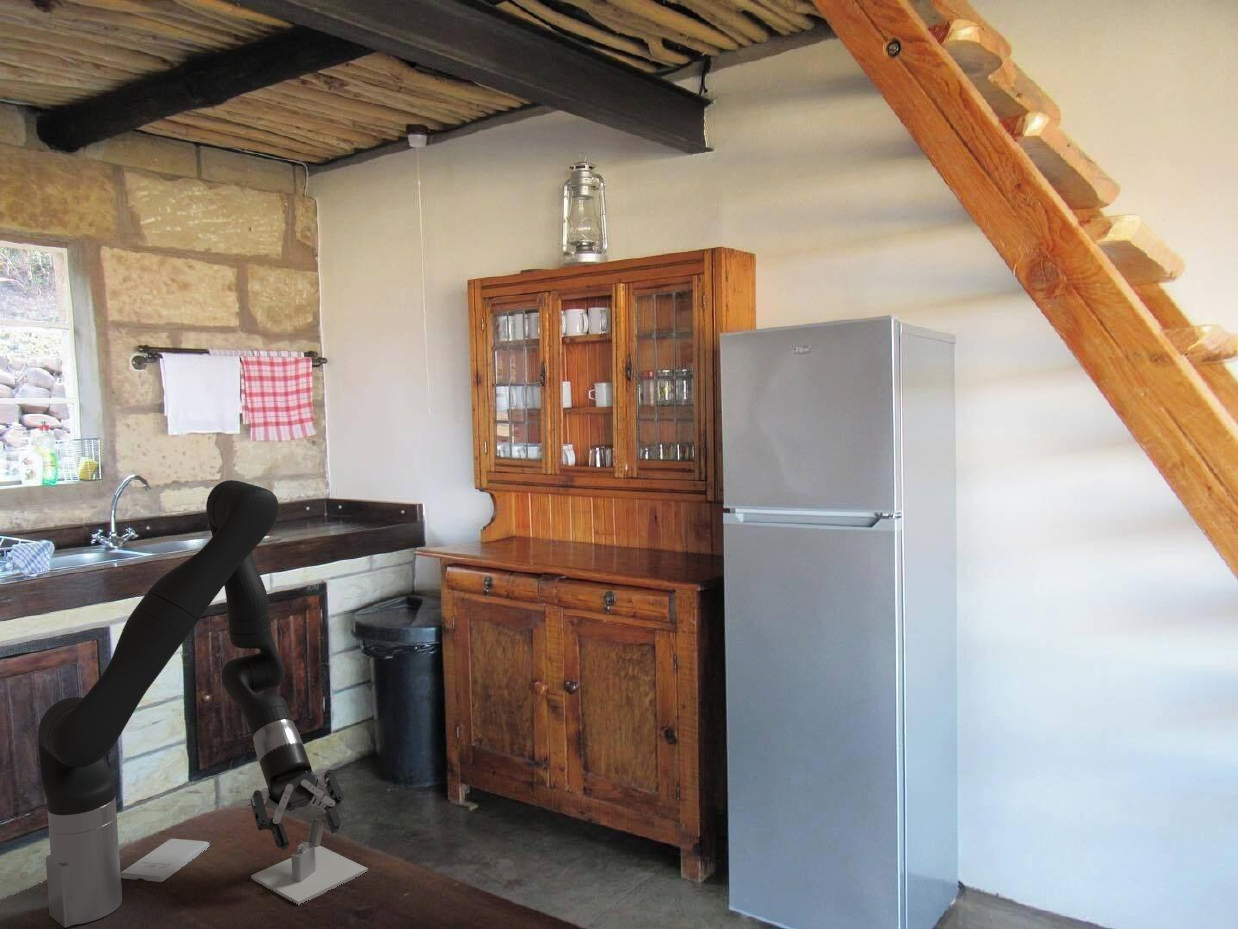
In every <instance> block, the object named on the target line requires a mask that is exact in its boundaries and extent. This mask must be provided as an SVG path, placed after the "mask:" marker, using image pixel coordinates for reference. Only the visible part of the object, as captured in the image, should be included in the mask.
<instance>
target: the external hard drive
mask: <svg viewBox="0 0 1238 929" xmlns="http://www.w3.org/2000/svg"><path fill="white" fill-rule="evenodd" d="M209 846H210V841H209V842H208V841H204V840H194V839H181V838H169V839H167V840H166V841H165V842H164V843H162V844H161V845H159V846H158V847H156V848H154V850H152V851H151V852H149V853H148V854H146V855H145V856H143V857H142V858H140V859H138V860H137V861H135V862H134V863H133V864H131V865H130V866H128V867H127V868H126V869H124V870H122V871H120V875H121V879H125V880H126V879H127V880H143V881H146V882H147V881H149V882H157V883H158V882H159V883H162V882H164V881H165V880H167V879H169V878H170V877H171V876H173V874H175V873H176V872H178V871H179V870H181V869H182V868H183V867H185V865H187V864H189V863H190V862H191V861H193V860H194V859H195V858H197V857H198V856H200V855H201V854H202V853H203V851H204V850H205V851H206V850H208V849H209V848H210V847H209ZM208 847H209V848H208ZM207 848H208V849H207ZM205 851H204V852H205ZM201 852H202V853H201ZM200 853H201V854H200ZM199 854H200V855H199ZM192 859H193V860H192ZM188 862H189V863H188ZM181 867H182V868H181Z"/></svg>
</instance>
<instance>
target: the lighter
mask: <svg viewBox="0 0 1238 929" xmlns="http://www.w3.org/2000/svg"><path fill="white" fill-rule="evenodd" d="M325 822H326V820H325V818H324V819H323V818H316V817H312V818H311V822H310V827H309V830H308V835H307V840H306V841H302V842H301V843H300V844H299V845H297V846H296V849H297V850H296V851H295V852H294V853H292V854H291V855H290V856H291V857H290V858H291V860H292V880H293V881H295V882H302V881H303V880H304V879H306V878H307V877H308V876H310V875H311V874H312V873H314V872H315V871H316V862H315V847H316V846H321V842H322V837H323V832H324V827H325V824H326V823H325Z"/></svg>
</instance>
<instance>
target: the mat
mask: <svg viewBox="0 0 1238 929" xmlns="http://www.w3.org/2000/svg"><path fill="white" fill-rule="evenodd" d="M315 862H316V871H315V872H314V873H312V874H311V875H310V876H308V877H307V878H306V879H304V880H303V881H302V882H295V881H293V880H292V860H291V857H290V858H288V859H285V860H283V861H281V862H279V863H276V864H274V865H271V866H270V867H267V868H265V869H262V870H260V871H258V872H256V873H253V874H252V875H251V876H250V877H251V880H252V879H253V880H252V881H255V882H256V883H257V884H260V885H261V884H262V885H261V886H264V887H265V888H267V889H268V890H270V889H271V890H270V891H272V890H273V891H272V892H274V893H276V894H277V895H279V896H281V897H283V898H285V899H287V901H288V900H289V902H292V901H293V902H294V903H293V902H292V903H293V904H295V903H296V905H297V904H298V905H297V906H301V905H302V904H301V903H303V904H305V903H306V902H305V901H307V902H309V901H310V900H313V899H315V898H318V897H319V896H321V895H323V894H326V893H327V891H328V890H330V891H331V889H332V890H334V889H335V888H338V887H340V886H341V884H342V885H344V884H346V883H348V882H350V881H353V880H354V879H356V878H355V877H357V878H359V877H361V876H362V874H363V873H365V872H367V871H368V872H369V867H366V866H363V865H362V864H360V863H357V862H355V861H353V860H352V859H349V858H347V857H345V856H342V855H341V854H339V853H337V852H334V851H332V850H331V849H328V848H327V847H324V846H321V845H316V846H315ZM368 872H367V873H368ZM365 874H366V873H365ZM360 875H361V876H360ZM363 875H364V874H363ZM358 876H359V877H358ZM343 883H344V884H343ZM339 885H340V886H339ZM337 886H338V887H337ZM328 892H329V891H328ZM308 900H309V901H308ZM304 902H305V903H304ZM300 904H301V905H300Z"/></svg>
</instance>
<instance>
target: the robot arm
mask: <svg viewBox="0 0 1238 929" xmlns="http://www.w3.org/2000/svg"><path fill="white" fill-rule="evenodd" d="M205 507H206V508H205V509H206V510H205V511H206V516H207V521H208V525H209V529H210V532H211V536H212V537H211V538H210V539H209V540H208V542H207V543H206V544H205V545H204V546H203V547H202V548H201V549H200V550H199V551H197V552H196V554H194V555H193V556H191V557H189V558H188V559H187V560H185V561H183V562H182V563H180V564H179V565H177V566H176V567H174V568H173V569H171V570H170V571H169V572H167V573H165V574H164V575H163V576H162V577H160V578H159V579H158V580H157V581H155V582H154V584H153V585H152V586H151V587H150V589H149V590H148V591H147V592H146V593H145V594H144V596H143V598H141V599H140V600H139V603H138V604H137V605H136V607H135V608H134V609H133V611H132V612H131V613H130V615H129V617H128V618H127V620H126V622H125V624H124V626H123V628H122V632H121V633H120V635H119V638H118V640H117V644H116V646H115V649H114V651H113V653H112V656H111V659H110V661H109V662H108V665H107V667H106V668H105V670H104V671H103V673H102V674H101V675H100V677H99V679H98V680H97V681H95V682H96V683H94V685H93V686H92V687H91V688H90V690H89V691H88V692H87V694H85V696H84V697H81V696H80V697H79V696H72V697H66V698H63V699H61V700H59V701H57V702H55V703H54V704H52V706H50V707H49V708H48V709H47V711H46V712H45V713H44V714H43V716H42V718H41V720H40V723H39V725H38V732H37V746H38V756H39V765H40V766H39V768H40V775H41V784H42V785H41V786H42V789H43V792H44V795H45V799H46V806H47V807H46V808H47V819H48V820H47V821H48V834H49V835H48V836H49V838H48V839H49V850H50V854H49V855H47V856H46V857H45V867H46V883H47V895H48V896H47V899H48V911H49V917H51V918H52V919H53V920H54V921H56V922H57V923H58V924H59V925H60V926H62V927H63V928H69V927H71V926H75V925H82V924H86V923H90V922H94V921H97V920H99V919H102V918H104V917H106V916H108V915H110V914H112V913H113V912H116V911H117V910H118V908H120V907H121V905H122V902H123V893H122V892H123V890H122V889H123V888H122V878H121V875H120V873H121V864H120V862H121V860H120V848H119V847H120V846H119V845H120V844H119V831H118V830H119V829H118V817H117V816H118V815H117V799H116V798H117V797H116V783H115V779H114V776H113V774H112V772H111V769H110V766H109V764H108V758H107V754H108V753H109V752H110V751H111V750H112V749H113V747H114V746H115V744H117V741H118V740H119V739H120V737H121V735H122V733H123V732H124V729H125V728H126V726H127V724H128V723H129V721H130V719H131V718H132V715H133V714H134V713H135V711H136V709H137V707H138V705H139V704H140V702H141V701H142V699H143V698H144V696H145V694H146V693H147V691H149V690H148V689H149V688H150V687H151V686H152V684H153V683H154V682H155V680H156V679H157V678H158V676H159V675H160V674H161V673H162V671H163V670H164V668H165V667H166V666H167V664H168V663H169V662H170V660H171V659H172V657H173V656H174V655H175V653H176V652H177V651H178V649H179V648H180V647H181V646H182V644H183V643H184V641H185V640H187V638H188V636H189V635H190V634H191V632H192V630H194V628H195V627H196V625H197V624H198V623H199V621H200V619H201V618H202V616H203V615H204V613H205V612H206V611H207V609H208V607H210V606H211V603H212V602H213V601H214V600H215V599H216V597H217V595H218V594H219V593H220V591H221V590H222V589H223V587H224V592H225V598H226V599H225V600H226V607H227V608H226V610H227V620H228V621H227V622H228V631H229V632H228V633H229V634H228V635H229V640H230V643H231V645H233V647H236V648H238V649H246V650H247V649H251V650H252V649H253V650H254V649H257V650H259V652H258V653H254V654H249V655H246V656H241V657H236V658H233V659H230V660H229V661H227V662H226V663H225V664H224V666H223V667H222V671H221V681H222V685H223V688H224V689H225V691H226V692H227V695H229V697H230V698H231V699H232V701H233V702H234V703H235V704H236V705H237V707H238V709H239V710H240V712H241V713H242V715H243V716H244V718H245V719H246V722H247V726H248V728H249V731H250V734H251V737H252V740H253V744H254V749H255V750H254V751H255V753H256V759H257V762H258V763H259V765H260V768H261V772H262V775H263V778H264V780H265V784H266V786H267V790H263V791H261V790H259V789H256V790H254V791H253V794H252V796H251V798H250V805H251V808H252V812H253V815H254V816H253V817H254V820H255V824H256V829H257V830H258V831H264V830H269V831H271V834H272V837H273V840H274V842H275V845H276V847H277V848H280V850H281V851H285V850H288V847H289V845H290V841H289V838H288V835H287V832H286V829H285V827H284V823H283V822H281V820H282V818H283V815H284V812H285V811H288V812H291V811H295V810H296V809H299V808H305V807H307V806H308V805H311V806H312V807H313V808H318V809H320V810H321V811H323V812H325V814H324V816H325V818H326V821H327V824H328V827H329V831H330V833H331V834H332V835H333V834H336V833H338V831H339V830H340V826H341V822H342V821H341V819H340V816H339V814H338V810H337V807H339V806H340V805H341V804H342V802H343V800H344V798H345V796H344V793H343V790H342V789H341V786H340V783H339V782H338V779H337V777H336V775H335V772H334V771H333V770H332V769H327V770H326V771H325V772H324V773H322V774H319V775H316V774H315V773H314V772H313V770H312V765H311V763H310V760H309V757H308V755H307V752H306V749H305V746H304V743H303V740H302V738H301V735H300V733H299V731H298V729H297V726H296V725H295V723H294V721H293V718H292V715H291V712H290V709H289V706H288V704H287V702H286V700H285V698H284V697H283V696H281V695H280V694H279V695H278V694H259V693H263V692H266V691H270V690H274V689H277V688H279V686H280V685H282V683H283V682H284V679H285V675H286V674H285V673H286V668H285V666H284V663H283V660H282V658H281V656H280V654H279V652H278V650H277V646H276V643H275V640H274V637H273V633H272V624H271V622H272V621H271V612H270V611H271V609H270V602H269V601H270V600H269V597H268V593H267V589H266V587H265V586H266V585H265V584H264V581H263V579H262V577H261V574H260V572H259V570H258V567H257V565H256V562H255V560H254V556H253V551H254V550H255V549H256V548H257V546H259V545H260V543H261V542H262V541H263V540H264V539H265V537H266V536H267V535H268V534H269V532H271V530H272V528H273V527H274V525H275V523H276V522H277V518H278V514H279V509H280V508H279V507H280V505H279V500H278V498H277V496H276V495H275V494H274V493H273V492H272V491H271V490H269V489H266V487H265V488H264V487H262V486H259V485H254V484H251V483H247V482H245V481H241V480H234V479H232V480H231V479H229V480H224V481H223V480H222V481H221V482H220V483H218V484H216V485H215V486H214V487H213V488H212V489H211V491H210V492H209V494H208V497H207V499H206V504H205ZM318 784H320V785H321V786H322V787H323V788H325V790H326V791H327V793H328V795H329V796H327V795H326V793H325V791H323V790H321V789H320V788H318ZM267 799H269V800H270V801H271V802H273V803H274V804H275V805H277V806H276V809H275V811H274V814H273V817H268V813H267V809H266V803H267Z"/></svg>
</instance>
